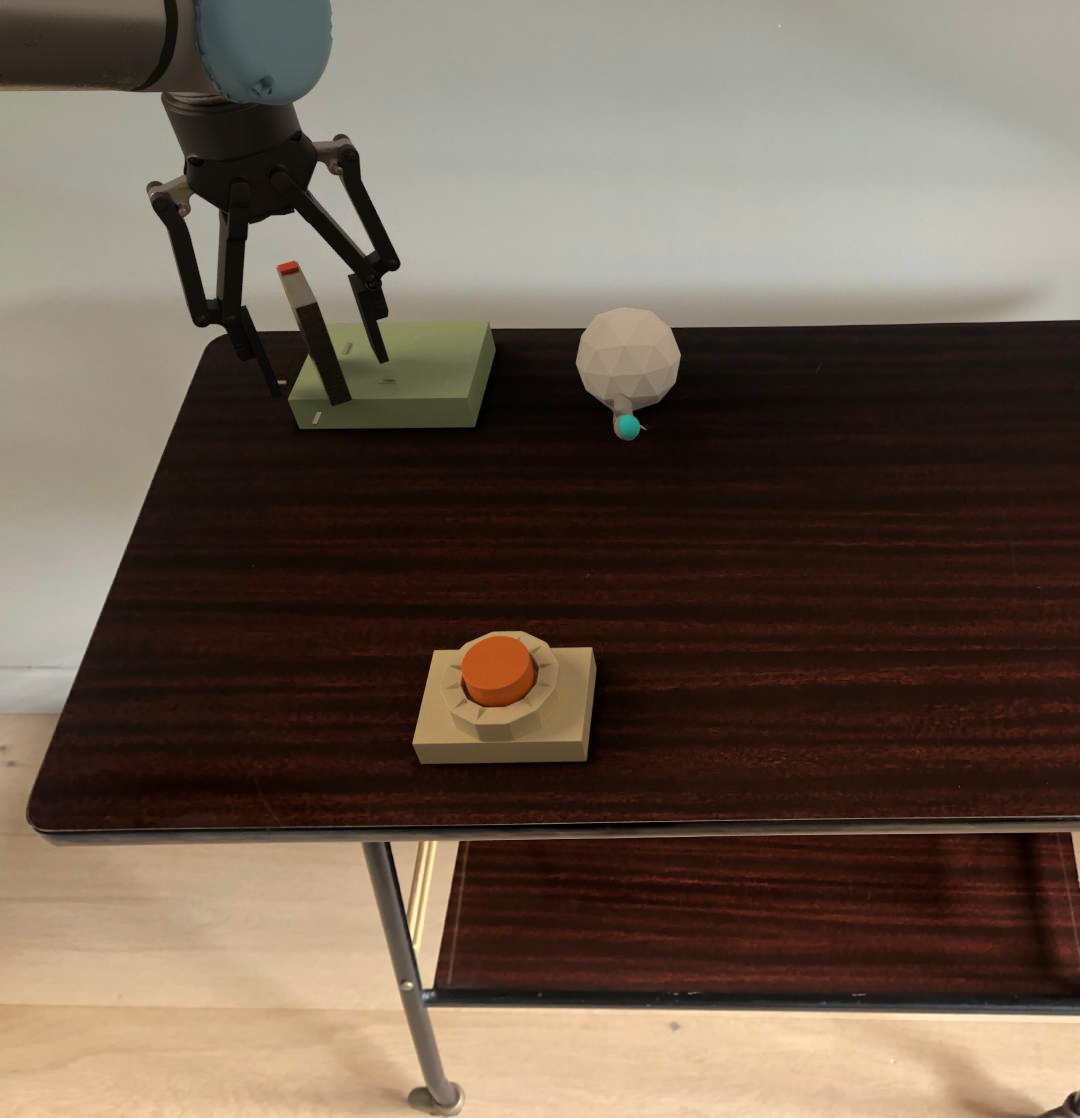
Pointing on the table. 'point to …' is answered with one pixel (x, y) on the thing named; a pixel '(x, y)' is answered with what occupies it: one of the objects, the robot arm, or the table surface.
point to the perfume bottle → (628, 363)
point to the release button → (498, 671)
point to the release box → (509, 710)
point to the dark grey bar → (314, 332)
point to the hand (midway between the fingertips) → (327, 369)
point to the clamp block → (401, 377)
